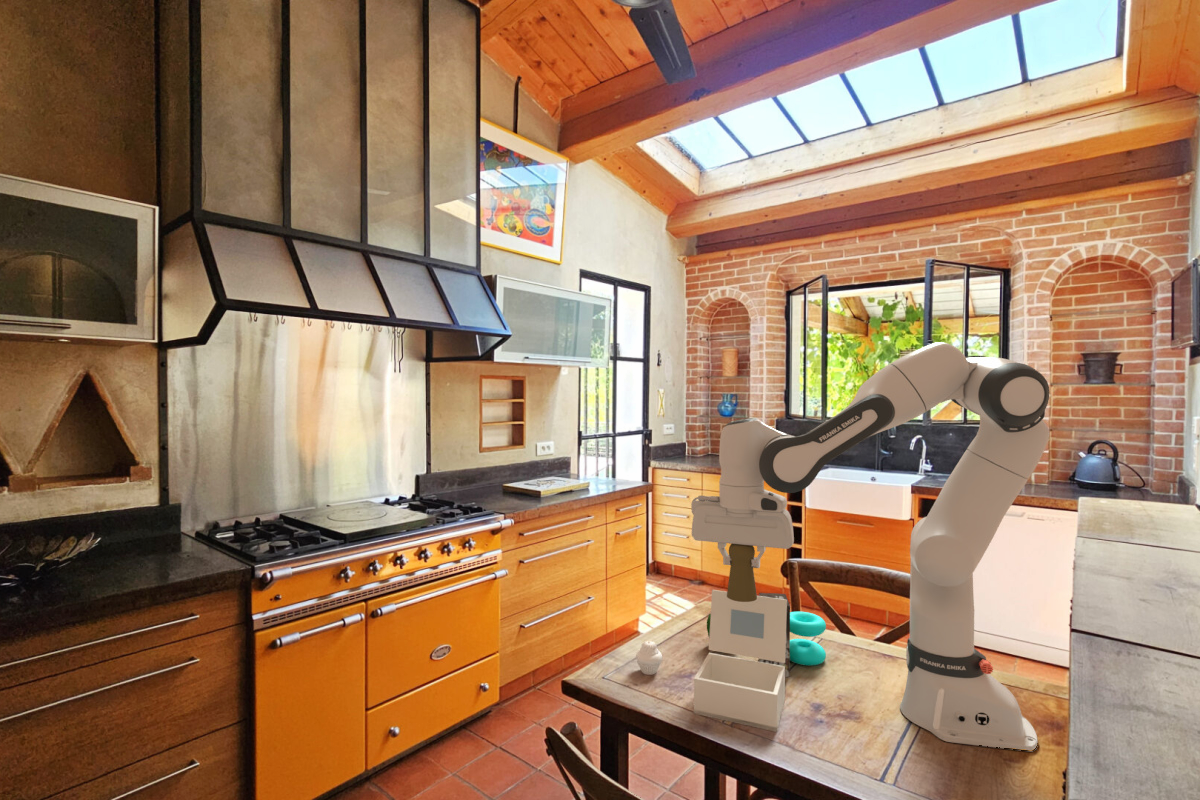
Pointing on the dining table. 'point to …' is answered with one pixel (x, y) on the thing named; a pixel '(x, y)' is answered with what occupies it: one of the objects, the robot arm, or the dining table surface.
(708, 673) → the base
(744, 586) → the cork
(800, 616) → the donuts
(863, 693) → the dining table surface
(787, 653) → the coffee box
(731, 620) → the mailer lid
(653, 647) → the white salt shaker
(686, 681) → the dining table surface
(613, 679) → the dining table surface
